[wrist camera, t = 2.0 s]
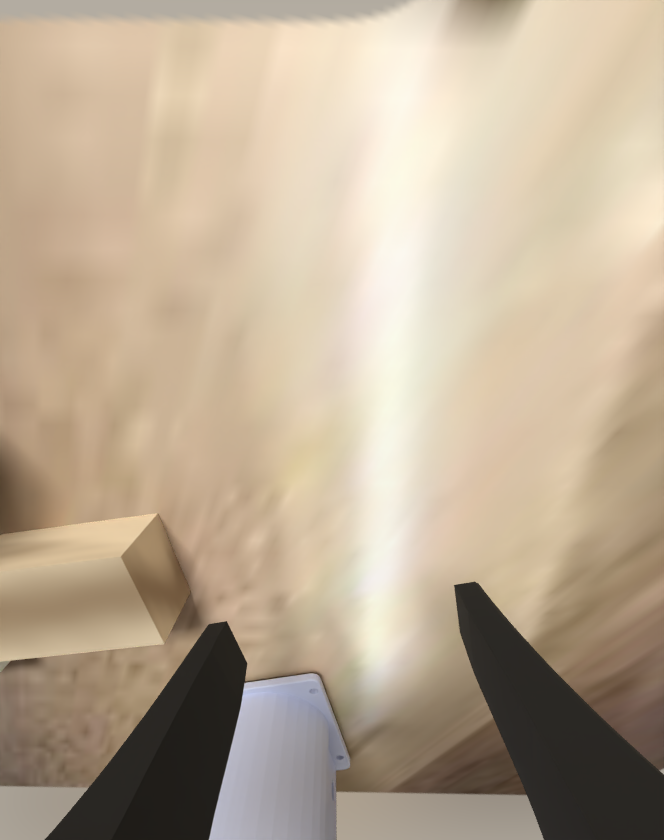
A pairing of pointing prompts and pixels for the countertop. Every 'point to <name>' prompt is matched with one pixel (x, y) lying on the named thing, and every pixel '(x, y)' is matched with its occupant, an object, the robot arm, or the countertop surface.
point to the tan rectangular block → (88, 588)
